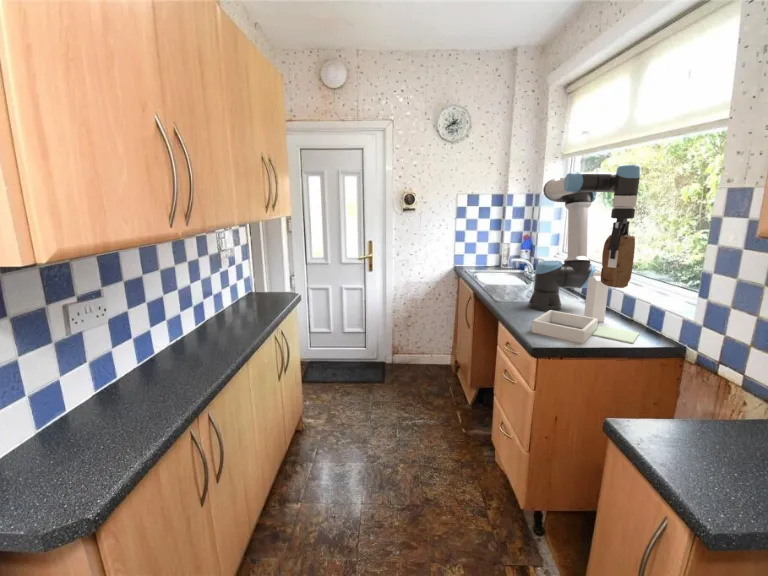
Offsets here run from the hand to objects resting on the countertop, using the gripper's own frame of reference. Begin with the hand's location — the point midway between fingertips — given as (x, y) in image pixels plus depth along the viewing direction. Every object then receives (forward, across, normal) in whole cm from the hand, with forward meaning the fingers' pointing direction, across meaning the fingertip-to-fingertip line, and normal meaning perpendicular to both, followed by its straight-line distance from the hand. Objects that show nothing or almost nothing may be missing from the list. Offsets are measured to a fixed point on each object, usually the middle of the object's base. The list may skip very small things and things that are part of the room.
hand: (615, 265), depth 151 cm
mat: (+28, -2, +3) cm, 28 cm away
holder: (+28, +7, -14) cm, 32 cm away
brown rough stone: (+8, 0, 0) cm, 8 cm away
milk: (+28, -18, -10) cm, 35 cm away
